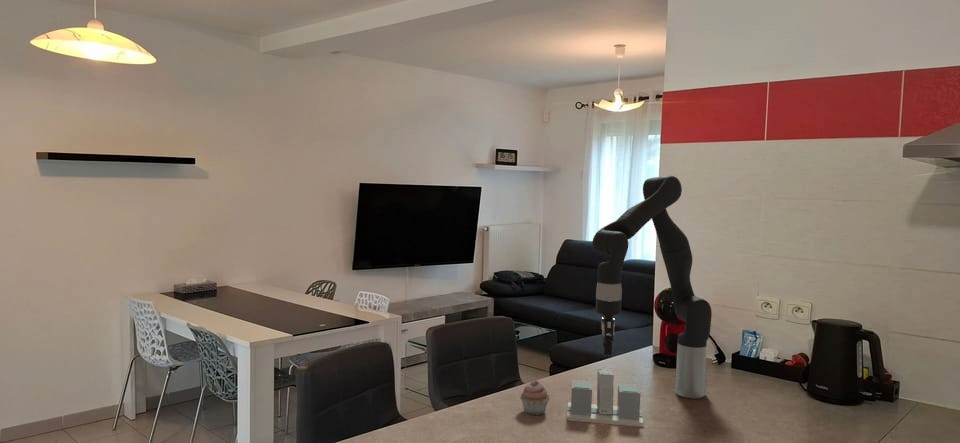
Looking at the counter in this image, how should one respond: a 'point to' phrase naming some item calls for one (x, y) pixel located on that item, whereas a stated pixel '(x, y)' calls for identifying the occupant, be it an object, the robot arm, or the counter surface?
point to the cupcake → (534, 398)
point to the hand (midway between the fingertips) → (607, 350)
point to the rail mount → (622, 413)
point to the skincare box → (605, 391)
